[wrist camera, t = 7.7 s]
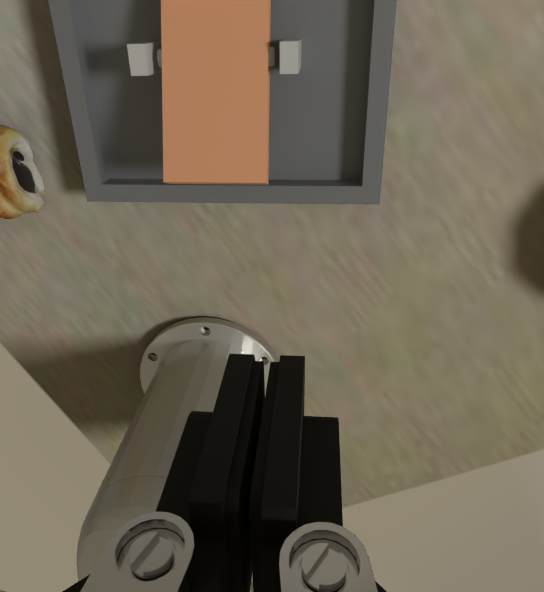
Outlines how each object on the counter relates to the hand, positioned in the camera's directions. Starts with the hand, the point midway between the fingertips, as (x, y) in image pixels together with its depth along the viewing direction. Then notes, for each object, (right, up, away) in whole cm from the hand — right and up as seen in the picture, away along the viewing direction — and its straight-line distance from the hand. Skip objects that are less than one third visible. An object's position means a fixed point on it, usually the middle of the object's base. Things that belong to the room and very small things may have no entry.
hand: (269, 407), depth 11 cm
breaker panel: (-3, +18, +21) cm, 28 cm away
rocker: (-3, +16, +17) cm, 24 cm away
